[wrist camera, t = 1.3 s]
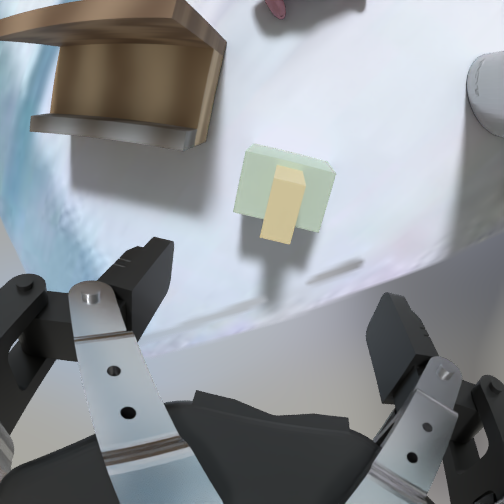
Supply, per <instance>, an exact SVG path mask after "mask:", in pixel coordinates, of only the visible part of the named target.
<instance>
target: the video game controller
mask: <svg viewBox="0 0 504 504" xmlns="http://www.w3.org/2000/svg"><path fill="white" fill-rule="evenodd" d="M265 2H266V4H267V5H268V7H269V9H270V11H271V12H272V13H273V14H274V15H275V16H276V17H277V18H279V19H284V17H285V15H286V9H285V4H284V1H283V0H265Z"/></svg>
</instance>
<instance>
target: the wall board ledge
mask: <svg viewBox="0 0 504 504" xmlns="http://www.w3.org/2000/svg"><path fill="white" fill-rule="evenodd" d="M0 41H13V42H25V43H35V44H43V45H51V46H59V47H60V51H59V56H58V62H57V67H56V73H55V79H54V86H53V93H52V101H51V110H50V113H49V114H41V115H35V116H31V121H30V132H42V133H54V134H65V135H75V136H84V137H92V138H101V139H109V140H116V141H123V142H130V143H137V144H144V145H150V146H156V147H163V148H168V149H174V150H180V151H184V150H187V149H189V148H192V147H194V146H197V145H199V144H202V143H204V142H206V138H207V133H208V128H209V122H210V117H211V112H212V107H213V102H214V98H215V93H216V88H217V83H218V79H219V74H220V70H221V65H222V61H223V56H224V52H225V48H226V44H227V42H226V41H225V40H224V39H223V38H222V36H221V35H220V34H219V33H218V32H217V31H216V30H215V29H214V28H213V27H212V26H211V25H210V24H209V23H208V22H207V21H206V20H205V19H204V18H203V17H202V16H201V15H200V14H199V13H198V12H197V11H196V10H195V9H194V8H193V7H192V6H190V5H189V4H188V3H187V2H186V1H185V0H82V1H75V2H69V3H64V4H59V5H54V6H49V7H44V8H40V9H36V10H32V11H28V12H24V13H20V14H17V15H13V16H10V17H6V18H3V19H0Z"/></svg>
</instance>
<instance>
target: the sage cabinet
mask: <svg viewBox="0 0 504 504" xmlns="http://www.w3.org/2000/svg"><path fill="white" fill-rule="evenodd" d="M335 175H336V173H335V171H334V170H333V169H332V167H331V166H330V165H329V163H328V162H327V161H323V160H320V159H316V158H312V157H308V156H304V155H301V154H297V153H293V152H289V151H284V150H280V149H276V148H272V147H267V146H263V145H259V144H253V145H252V146H251V147H250V148H248V149H247V150H246V152H245V157H244V161H243V166H242V171H241V176H240V181H239V185H238V190H237V195H236V200H235V205H234V210H233V212H235V213H239V214H243V215H247V216H252V217H256V218H260V219H264V221H263V225H262V229H261V234H260V238H264V239H268V240H273V241H277V242H281V243H285V244H289V245H290V242H291V239H292V235H293V232H294V228H295V227H297V228H301V229H305V230H309V231H313V232H317V233H319V230H320V227H321V223H322V220H323V217H324V213H325V210H326V207H327V203H328V200H329V196H330V193H331V190H332V186H333V183H334V179H335Z"/></svg>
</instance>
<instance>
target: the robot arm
mask: <svg viewBox="0 0 504 504" xmlns="http://www.w3.org/2000/svg"><path fill="white" fill-rule="evenodd" d="M467 91H468V97H469V101H470V105H471V107H472V110H473V112H474V114H475V116H476V117H477V119H478V121H479V122H480V123H481V124H482V126H483V127H484V128H486V129H487V130H488V131H489V132H491V133H493V134H494V135H497V136H501V137H504V51H500V52H495V53H489V54H483V55H482V56H480V57H478V58H477V59H476V60H475V61H474V62H473V64H472V65H471V67H470V70H469V73H468V78H467ZM173 252H174V242H173V241H170V240H166V239H161V238H157V237H153V238H152V239H151V240H150V241H149V242H148V243H147V244H146V245H145V246H144V247H139V246H137V247H134V248H132V249H129V250H127V251H126V252H125V253H124V254H123V255H122V256H121V257H120V259H118V260H117V261H116V262H115V263H114V264H113V265H112V266H111V267H110V268H109V269H108V270H107V271H106V272H105V273H104V274H103V275H102V276H101V277H100V278H99V279H98V280H97V281H84V282H80V283H78V284H76V285H74V286H73V287H72V288H71V289H70V291H69V293H61V292H52V291H47V289H46V283H45V280H44V279H43V278H42V277H40V276H38V275H35V274H22V275H18V276H16V277H14V278H12V279H11V280H9V281H8V282H7V283H6V284H5V285H4V286H3V287H2V288H1V289H0V504H434V502H433V501H431V499H429V497H428V496H427V493H428V491H429V489H430V486H431V484H432V482H433V480H434V478H435V476H436V473H437V471H438V469H439V466H440V464H441V462H442V460H443V464H444V469H445V474H446V479H447V484H448V490H449V496H450V502H451V504H504V385H503V383H502V382H500V381H499V380H498V379H497V378H495V377H493V376H491V375H484V376H482V377H481V379H480V380H479V381H478V382H477V384H476V385H475V384H472V383H469V382H467V381H464V380H462V374H461V372H460V370H459V368H458V367H457V366H456V365H455V364H454V363H453V362H451V361H450V360H448V359H446V358H443V357H439V355H438V353H437V351H436V349H435V347H434V345H433V343H432V341H431V339H430V337H428V336H429V335H428V333H427V331H426V330H425V327H424V325H423V323H422V321H421V319H420V318H419V317H418V316H417V315H416V314H415V313H414V312H413V311H412V310H411V308H410V306H409V305H408V303H407V301H406V299H405V297H404V296H401V295H396V294H392V293H388V292H387V293H384V295H383V296H382V297H381V299H380V302H379V304H378V306H377V308H376V310H375V312H374V315H373V316H372V318H371V321H370V322H369V325H368V328H367V331H366V341H367V345H368V349H369V353H370V356H371V360H372V364H373V368H374V372H375V376H376V380H377V384H378V388H379V392H380V397H381V401H382V403H383V404H395V409H394V410H393V411H392V412H391V414H390V415H389V417H388V418H387V420H386V421H385V423H384V425H383V426H382V428H381V429H380V430H379V432H378V433H377V435H376V436H375V437H374V439H373V440H371V439H369V438H368V437H366V436H364V435H362V434H361V433H358V432H356V431H354V430H351V429H350V428H349V421H348V418H346V417H337V416H328V415H320V414H300V415H283V416H276V415H271V414H268V413H266V412H263V411H261V410H259V409H256V408H254V407H251V406H249V405H247V404H244V403H242V402H240V401H237V400H235V399H230V398H226V397H222V396H218V395H213V394H209V393H205V392H202V391H198V390H196V393H195V396H194V399H193V401H172V402H166V403H163V401H162V399H161V397H160V395H159V393H158V390H157V388H156V386H155V384H154V382H153V379H152V377H151V375H150V372H149V370H148V367H147V365H146V363H145V360H144V358H143V355H142V353H141V350H140V348H139V345H138V341H139V339H140V337H141V336H142V334H143V332H144V331H145V329H146V327H147V326H148V324H149V322H150V321H151V319H152V317H153V315H154V314H155V312H156V310H157V309H158V307H159V305H160V304H161V302H162V300H163V299H164V297H165V296H166V294H167V291H168V289H169V285H170V280H171V271H172V261H173ZM17 339H19V341H18V342H17V343H16V345H15V346H14V347H13V348H12V350H11V351H10V352H9V350H10V348H11V346H12V345H13V343H14V342H15V341H16V340H17ZM56 359H60V360H67V361H75V362H78V364H79V369H80V374H81V379H82V384H83V388H84V392H85V396H86V401H87V405H88V408H89V412H90V416H91V419H92V423H93V427H94V430H95V434H94V435H91V436H89V437H87V438H85V439H82V440H80V441H78V442H76V443H73V444H71V445H69V446H66V447H64V448H62V449H59V450H57V451H55V452H52V453H50V454H47V455H45V456H42V457H40V458H37V459H35V460H32V461H29V462H27V463H24V464H22V465H19V466H18V467H16V468H14V469H12V470H11V464H12V458H13V455H14V445H13V441H12V439H11V437H10V434H11V432H12V431H13V429H14V427H15V425H16V423H17V422H18V420H19V418H20V417H21V415H22V413H23V412H24V410H25V408H26V406H27V405H28V403H29V401H30V400H31V398H32V397H33V395H34V393H35V392H36V390H37V388H38V387H39V385H40V384H41V382H42V381H43V379H44V377H45V376H46V374H47V373H48V371H49V370H50V368H51V367H52V365H53V364H54V362H55V361H56ZM483 427H484V429H485V432H486V435H487V438H488V441H489V447H488V450H487V452H486V454H485V455H484V456H483V457H482V458H481V459H480V458H479V455H478V451H477V448H476V444H475V441H474V438H473V437H474V436H475V435H476V434H477V433H478V432H479V431H480V430H481V429H482V428H483Z"/></svg>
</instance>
